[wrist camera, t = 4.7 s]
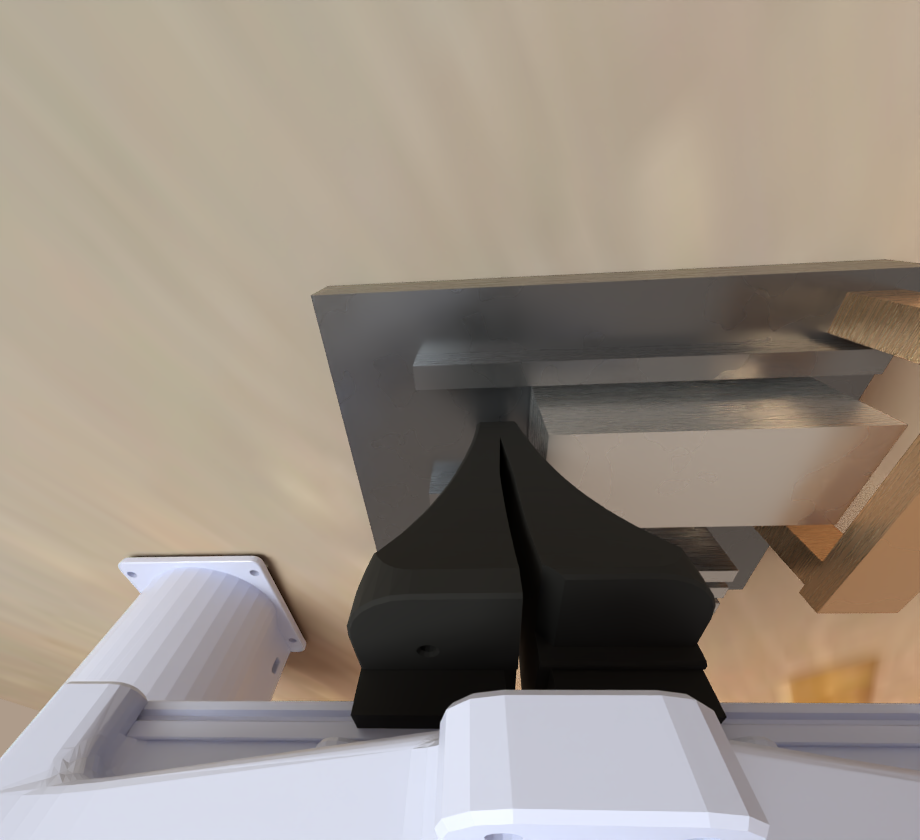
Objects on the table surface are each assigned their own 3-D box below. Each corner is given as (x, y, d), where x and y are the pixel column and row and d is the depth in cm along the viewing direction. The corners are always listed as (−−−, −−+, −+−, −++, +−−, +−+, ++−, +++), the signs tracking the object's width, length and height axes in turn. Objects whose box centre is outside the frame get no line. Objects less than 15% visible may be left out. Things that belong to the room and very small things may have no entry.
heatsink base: (723, 563, 19) (817, 693, 14) (393, 567, 20) (366, 692, 14) (886, 259, 11) (1238, 301, 6) (327, 286, 12) (223, 343, 7)
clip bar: (764, 463, 13) (835, 524, 11) (525, 469, 14) (539, 529, 11) (809, 376, 11) (908, 424, 9) (531, 385, 12) (549, 435, 9)
